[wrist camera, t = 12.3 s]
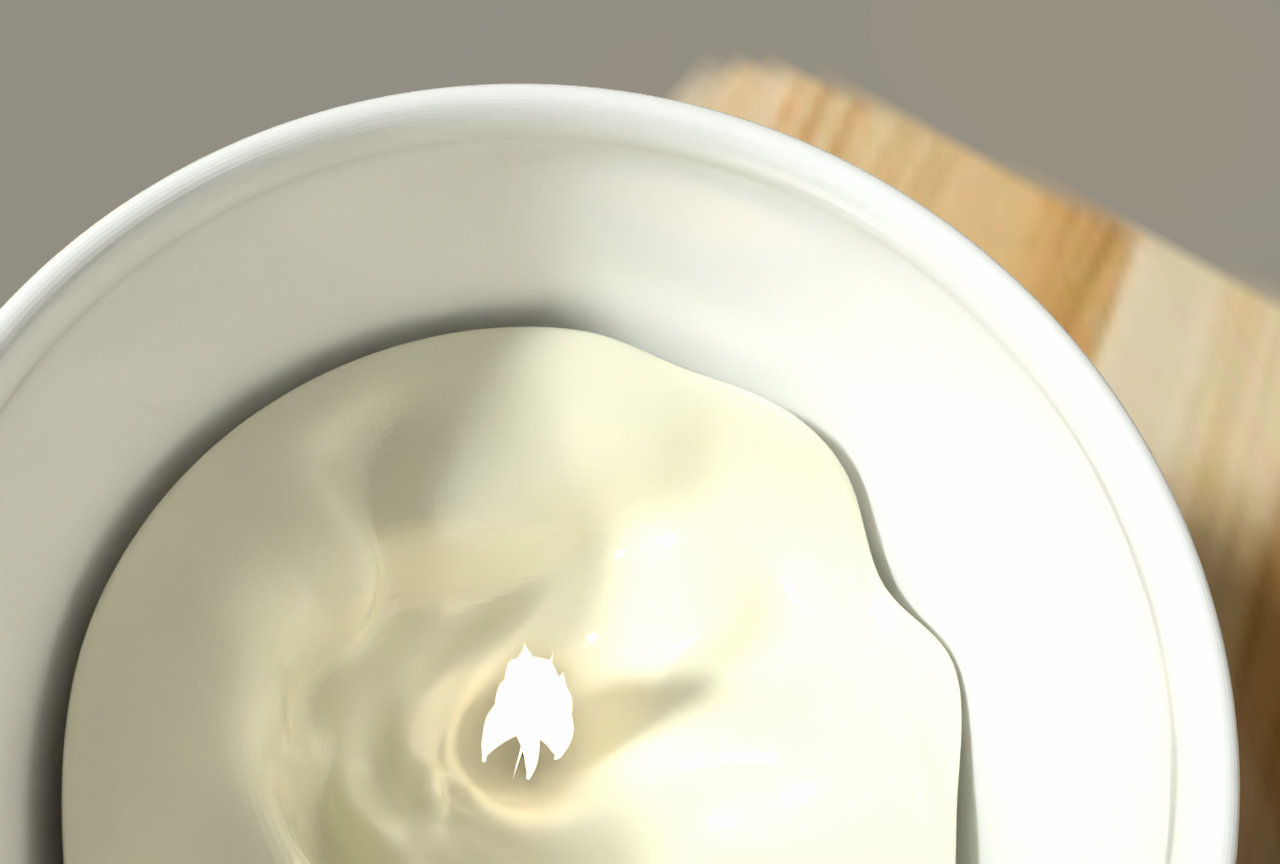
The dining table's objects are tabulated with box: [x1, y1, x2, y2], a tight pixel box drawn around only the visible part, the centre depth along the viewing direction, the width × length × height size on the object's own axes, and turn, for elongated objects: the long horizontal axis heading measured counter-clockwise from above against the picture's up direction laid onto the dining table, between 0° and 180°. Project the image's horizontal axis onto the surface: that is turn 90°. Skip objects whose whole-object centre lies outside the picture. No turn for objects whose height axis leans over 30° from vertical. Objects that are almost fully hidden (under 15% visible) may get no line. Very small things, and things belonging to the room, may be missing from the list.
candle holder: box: [0, 84, 1240, 864], centre depth 14 cm, size 10×10×12 cm
